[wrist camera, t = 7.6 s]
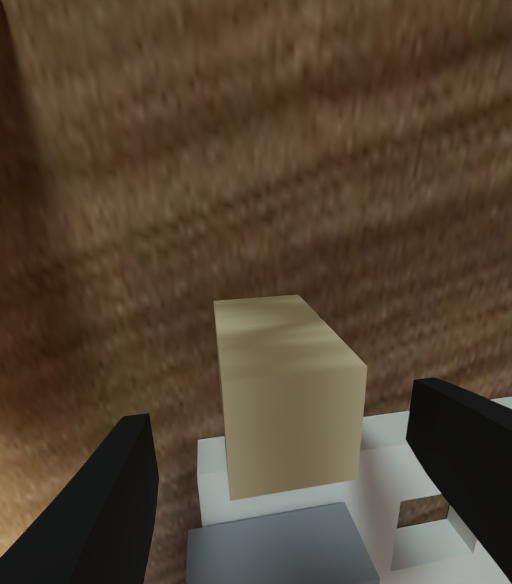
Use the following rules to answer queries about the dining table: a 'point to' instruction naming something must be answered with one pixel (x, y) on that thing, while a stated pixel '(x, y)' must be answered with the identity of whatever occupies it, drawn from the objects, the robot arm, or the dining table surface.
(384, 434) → the socket plate
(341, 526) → the grey cover
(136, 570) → the robot arm
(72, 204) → the dining table surface
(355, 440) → the maple peg
